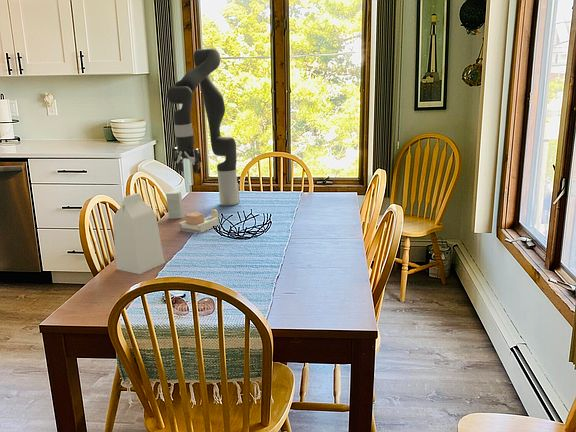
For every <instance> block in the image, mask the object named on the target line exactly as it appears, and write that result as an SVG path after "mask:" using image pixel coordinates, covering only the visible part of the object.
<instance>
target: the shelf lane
mask: <svg viewBox="0 0 576 432" xmlns="http://www.w3.org/2000/svg"><path fill="white" fill-rule="evenodd" d="M217 225H219V226H220V218H219V216H218V217H216V218H214V219H212V218H210V219H206V220H204V223H201V224H199V225H197V226H196V225H189V224H186V220H183V221H180V222H179V231H180V232H186V233H188V232H189V233H192V234H193V233H194V234H199V233H200V234H202V233H201V232H203V233H205V232H207V231H209V229H210V230H211V228H212V229H214V228H213V226H217ZM217 227H218V226H217ZM206 230H207V231H206ZM204 231H205V232H204ZM196 232H197V233H196Z"/></svg>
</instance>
